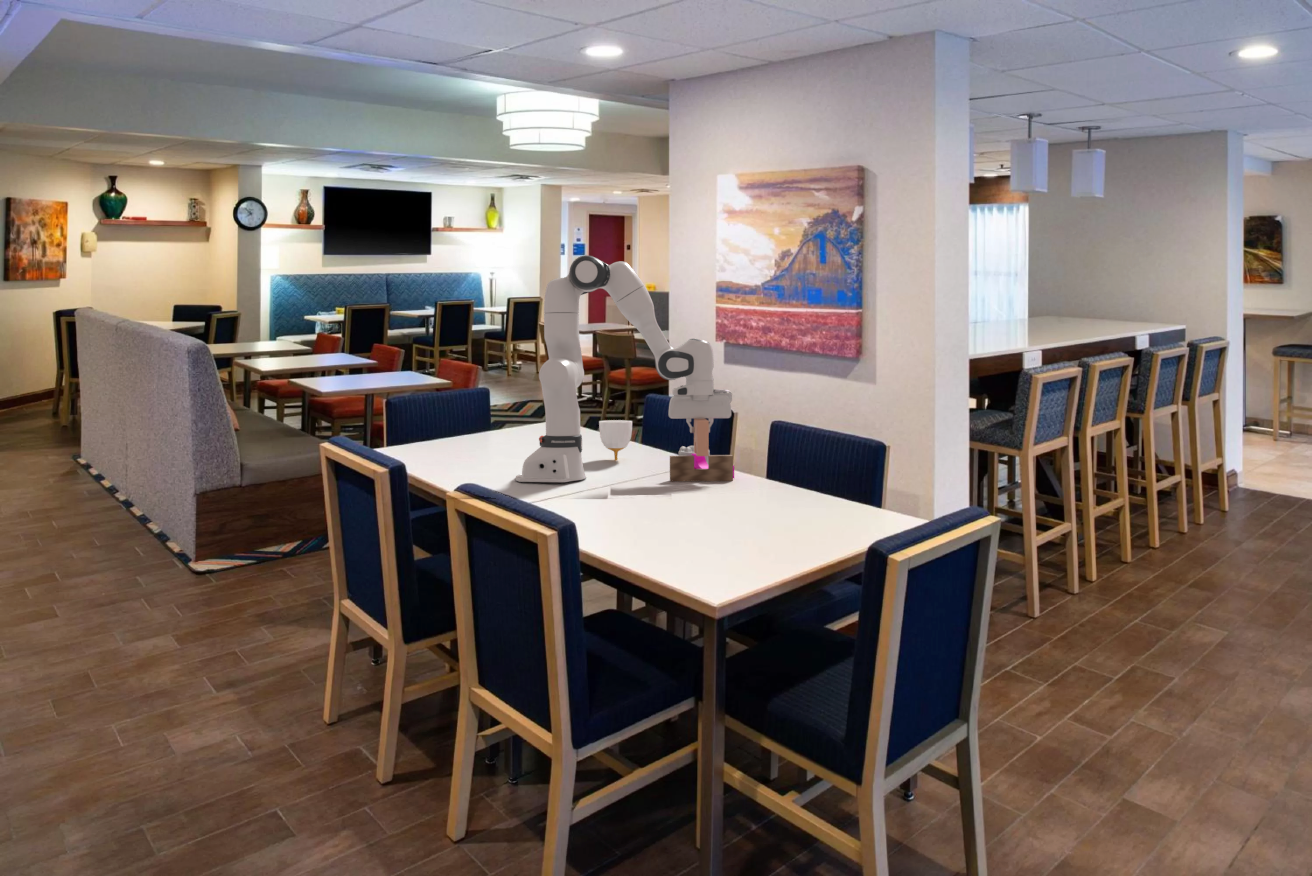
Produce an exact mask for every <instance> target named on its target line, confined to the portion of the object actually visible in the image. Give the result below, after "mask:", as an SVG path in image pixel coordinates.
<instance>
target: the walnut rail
mask: <svg viewBox="0 0 1312 876" xmlns="http://www.w3.org/2000/svg"><path fill="white" fill-rule="evenodd" d="M733 465H734V456H733V454H710V455H709V456H708V469H694V456H693V455H690V456H678V455H669V481H670V482H729V481H730V482H733V481H734V479H733Z"/></svg>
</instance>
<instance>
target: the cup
mask: <svg viewBox="0 0 1312 876" xmlns="http://www.w3.org/2000/svg"><path fill="white" fill-rule="evenodd" d="M598 425H599V426H598V427H599V428H598V429H599V430H598V431H599V437H600V440H601V443H602V445H603V447H605V448H606V449H607V450H610V451H611V452H613V453H614V461H618V454H619V452H620V451H622V450H623V449H626V448H627V447H628V445H629V444H630V442H631V438H632V432H633V420H626V419H625V420H624V419H622V420H621V419H618V420H617V419H616V420H615V419H613V420H612V419H611V420H610V419H609V420H608V419H607V420H599V421H598Z"/></svg>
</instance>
